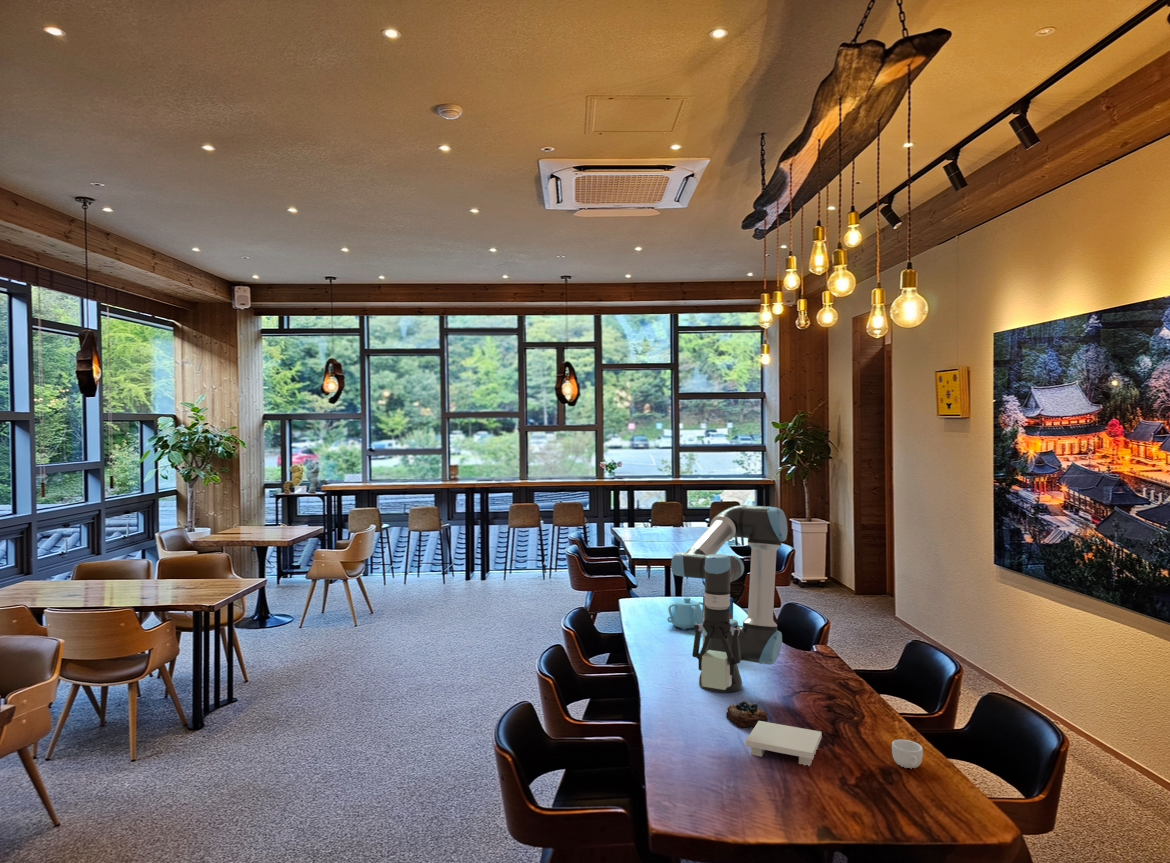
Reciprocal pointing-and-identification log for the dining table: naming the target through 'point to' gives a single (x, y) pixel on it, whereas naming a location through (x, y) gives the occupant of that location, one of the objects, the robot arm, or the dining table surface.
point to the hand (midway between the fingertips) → (716, 683)
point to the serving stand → (784, 741)
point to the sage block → (714, 669)
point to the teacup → (907, 753)
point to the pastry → (745, 715)
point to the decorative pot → (685, 613)
